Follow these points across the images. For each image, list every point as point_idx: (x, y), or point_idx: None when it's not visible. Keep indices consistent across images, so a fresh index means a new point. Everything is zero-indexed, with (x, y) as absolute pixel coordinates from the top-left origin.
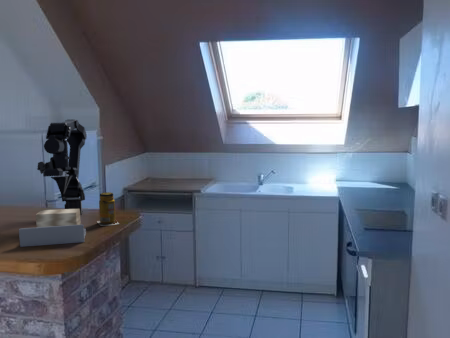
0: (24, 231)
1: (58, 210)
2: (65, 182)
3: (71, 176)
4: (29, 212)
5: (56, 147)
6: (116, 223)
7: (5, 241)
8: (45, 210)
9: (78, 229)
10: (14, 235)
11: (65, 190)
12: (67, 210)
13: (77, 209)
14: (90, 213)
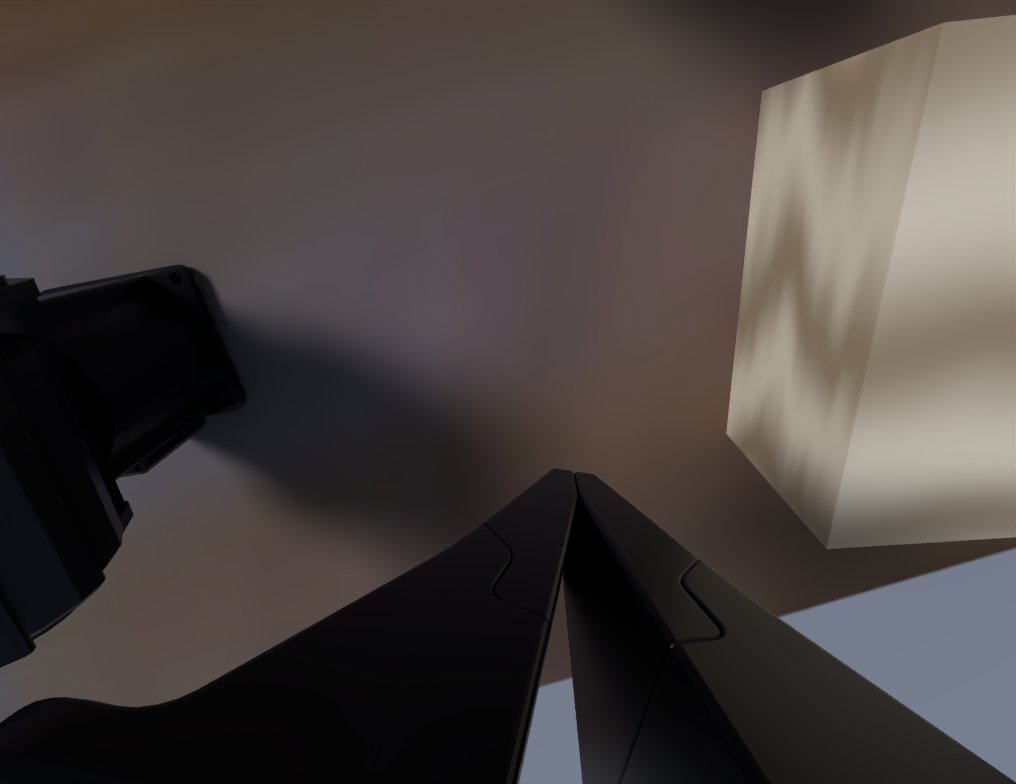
0: None
1: (937, 350)
2: (791, 628)
3: (167, 752)
4: (162, 679)
5: None
6: None
7: (947, 563)
8: (860, 503)
9: None
10: (808, 564)
11: (544, 484)
12: (1001, 214)
13: (1003, 47)
14: (80, 185)
